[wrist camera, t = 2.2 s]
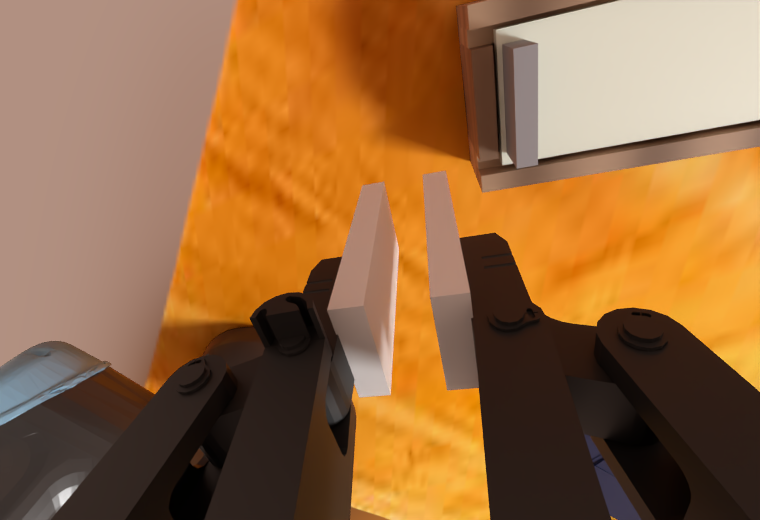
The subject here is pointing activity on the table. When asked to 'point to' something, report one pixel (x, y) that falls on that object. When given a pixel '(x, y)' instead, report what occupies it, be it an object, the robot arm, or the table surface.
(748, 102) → the lid
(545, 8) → the box
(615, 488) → the dark blue flat slab
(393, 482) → the table surface
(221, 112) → the table surface
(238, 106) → the table surface
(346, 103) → the table surface
